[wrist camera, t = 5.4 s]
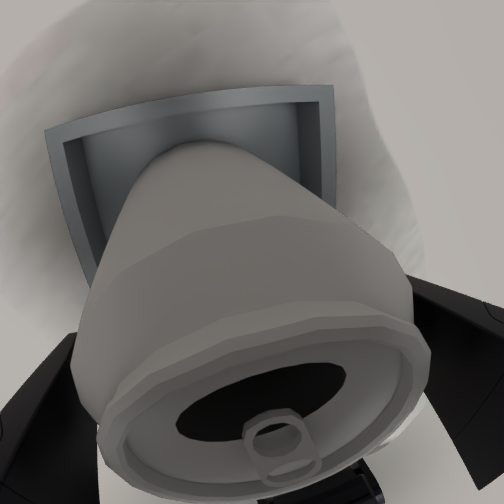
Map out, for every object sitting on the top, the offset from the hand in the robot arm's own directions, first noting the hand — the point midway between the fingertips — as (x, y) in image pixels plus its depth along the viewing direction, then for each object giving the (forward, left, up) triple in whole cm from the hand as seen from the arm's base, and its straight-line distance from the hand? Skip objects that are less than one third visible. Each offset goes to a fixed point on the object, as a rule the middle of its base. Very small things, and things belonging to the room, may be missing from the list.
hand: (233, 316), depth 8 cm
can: (0, 0, -8) cm, 8 cm away
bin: (0, 0, -8) cm, 8 cm away
